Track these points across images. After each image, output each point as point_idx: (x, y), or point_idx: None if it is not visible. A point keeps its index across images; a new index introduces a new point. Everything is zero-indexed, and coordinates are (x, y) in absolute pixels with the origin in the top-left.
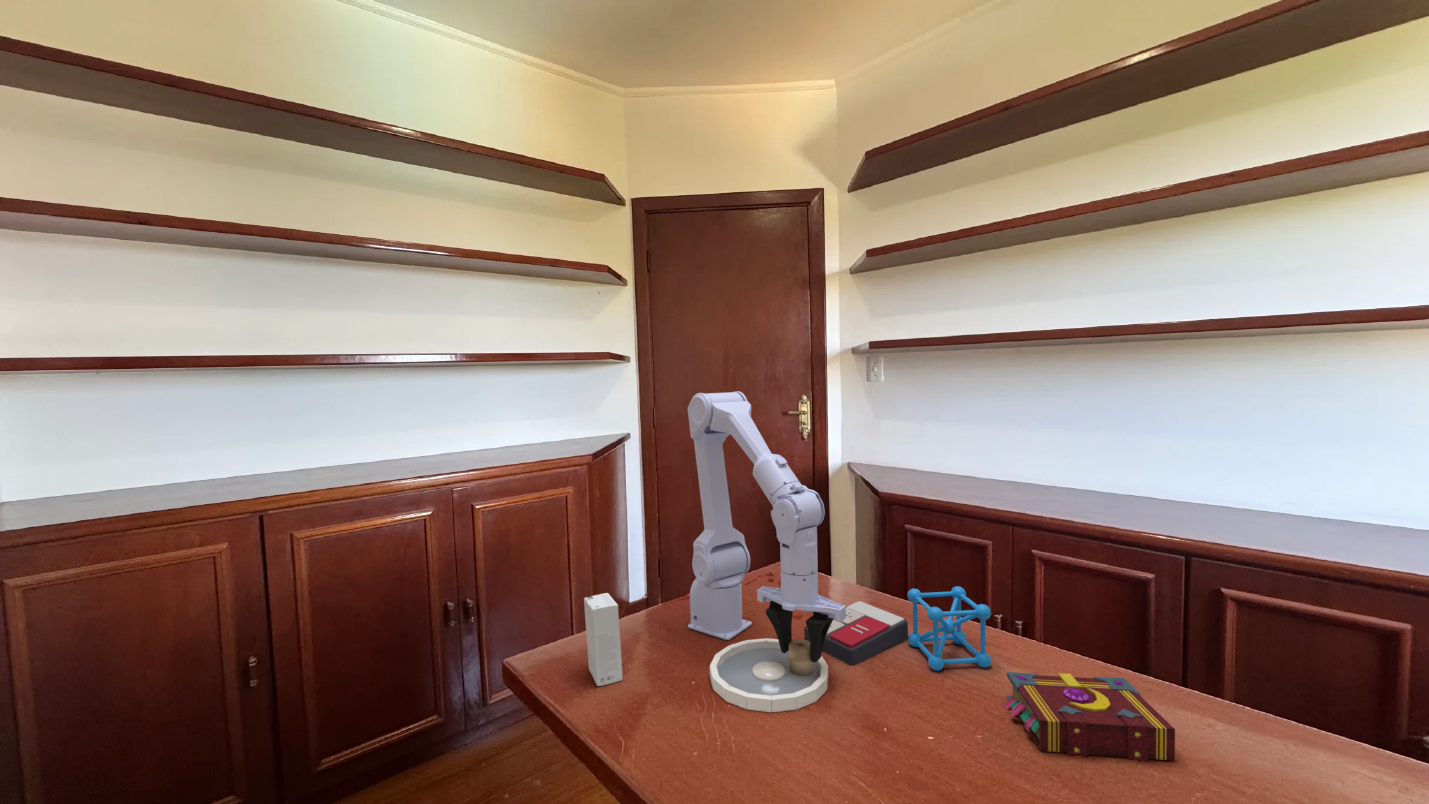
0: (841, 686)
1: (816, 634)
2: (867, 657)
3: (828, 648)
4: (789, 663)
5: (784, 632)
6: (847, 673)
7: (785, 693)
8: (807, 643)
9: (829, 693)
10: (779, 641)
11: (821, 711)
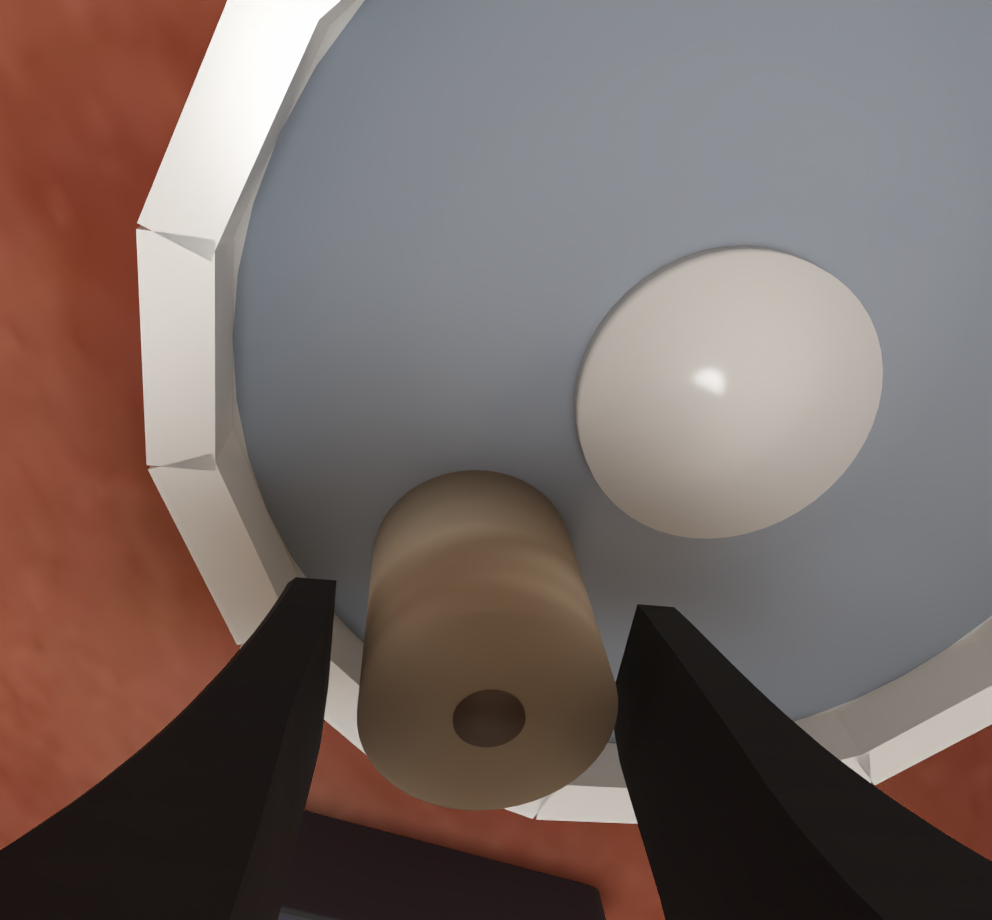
0: (105, 516)
1: (92, 813)
2: None
3: (388, 869)
4: (573, 551)
5: (707, 787)
6: (156, 687)
7: (455, 129)
8: (429, 767)
9: (138, 381)
10: (728, 670)
11: (49, 61)
